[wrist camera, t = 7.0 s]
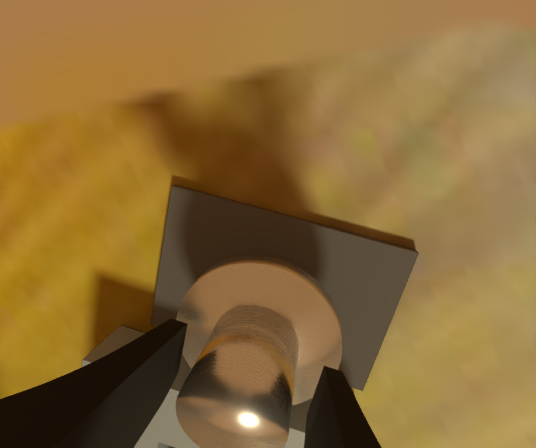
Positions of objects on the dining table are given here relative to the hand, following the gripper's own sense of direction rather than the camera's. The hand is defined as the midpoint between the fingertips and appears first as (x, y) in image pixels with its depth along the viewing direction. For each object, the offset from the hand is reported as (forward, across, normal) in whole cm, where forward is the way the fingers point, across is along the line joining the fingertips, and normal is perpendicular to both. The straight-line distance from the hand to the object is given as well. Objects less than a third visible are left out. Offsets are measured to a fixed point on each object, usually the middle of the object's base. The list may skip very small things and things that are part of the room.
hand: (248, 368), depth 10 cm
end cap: (+5, 0, 0) cm, 5 cm away
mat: (+6, 0, 0) cm, 6 cm away
